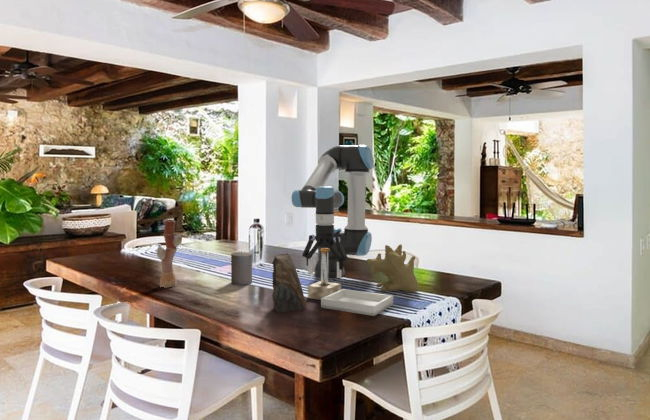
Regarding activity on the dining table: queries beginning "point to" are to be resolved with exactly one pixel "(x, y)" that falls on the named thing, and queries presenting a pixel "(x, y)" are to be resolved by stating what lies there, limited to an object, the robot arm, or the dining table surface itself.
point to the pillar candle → (241, 268)
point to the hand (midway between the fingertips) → (324, 275)
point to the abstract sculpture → (168, 254)
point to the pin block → (322, 290)
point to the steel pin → (324, 266)
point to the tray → (357, 302)
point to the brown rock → (286, 285)
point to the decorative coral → (395, 270)
